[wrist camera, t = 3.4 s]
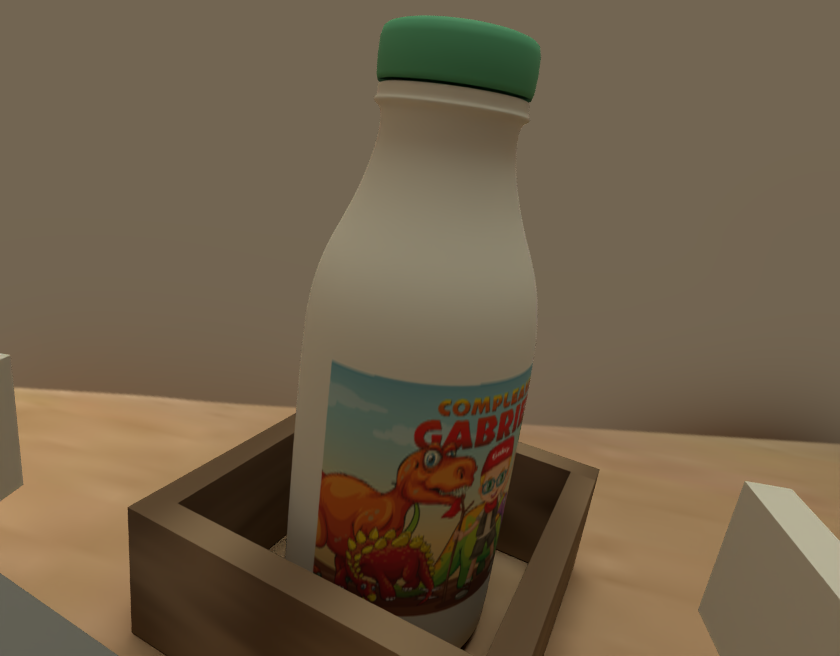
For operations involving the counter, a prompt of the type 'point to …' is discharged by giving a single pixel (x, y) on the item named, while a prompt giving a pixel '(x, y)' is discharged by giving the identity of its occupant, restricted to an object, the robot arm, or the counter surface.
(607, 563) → the counter surface
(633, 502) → the counter surface
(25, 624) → the slate tile
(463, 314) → the milk bottle
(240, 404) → the counter surface
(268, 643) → the walnut caddy
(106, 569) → the counter surface
